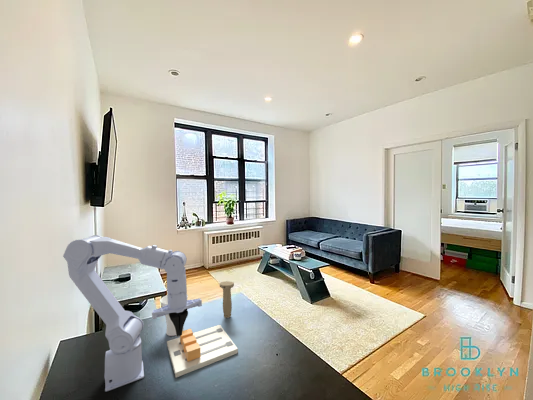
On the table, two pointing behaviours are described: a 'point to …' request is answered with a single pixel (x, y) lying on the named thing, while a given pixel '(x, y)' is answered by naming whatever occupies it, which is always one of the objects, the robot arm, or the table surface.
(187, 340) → the tab middle
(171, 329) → the cup
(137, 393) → the table surface
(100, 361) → the table surface
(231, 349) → the switch board
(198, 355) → the orange block
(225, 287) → the handle
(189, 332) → the tab far
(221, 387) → the table surface
